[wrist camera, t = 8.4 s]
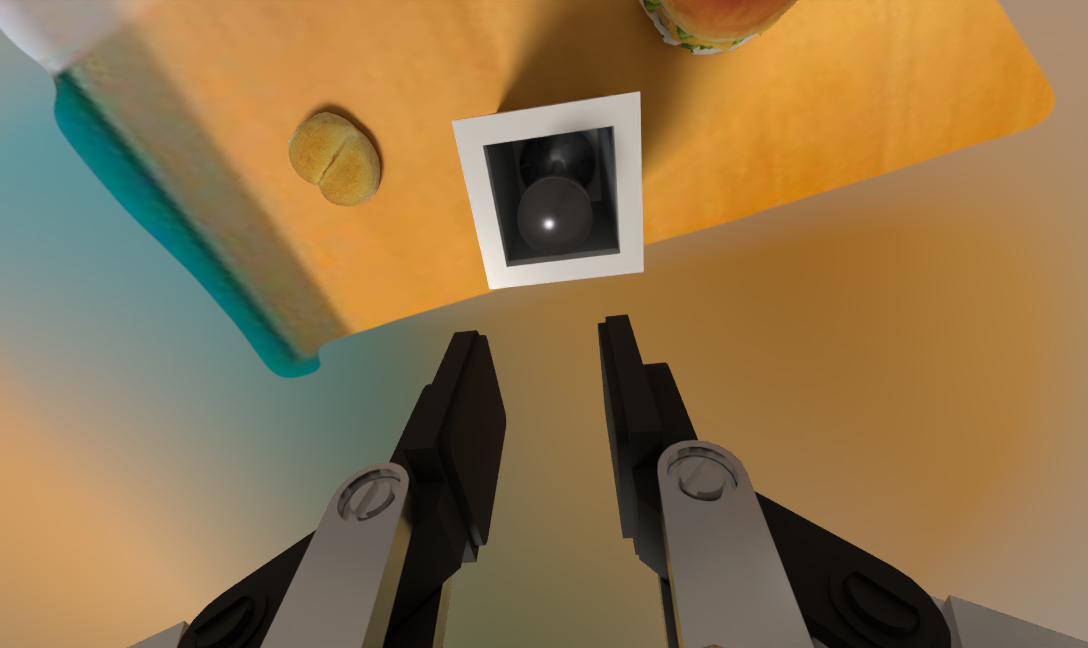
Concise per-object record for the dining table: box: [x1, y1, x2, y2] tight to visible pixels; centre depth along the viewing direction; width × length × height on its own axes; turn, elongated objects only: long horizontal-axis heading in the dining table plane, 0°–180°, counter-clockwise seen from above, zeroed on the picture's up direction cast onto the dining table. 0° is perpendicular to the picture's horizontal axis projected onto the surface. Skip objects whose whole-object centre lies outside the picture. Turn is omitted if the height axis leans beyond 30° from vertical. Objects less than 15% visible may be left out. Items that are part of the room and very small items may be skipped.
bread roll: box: [288, 112, 380, 206], centre depth 42 cm, size 8×9×4 cm
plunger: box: [517, 131, 595, 256], centre depth 32 cm, size 8×8×21 cm
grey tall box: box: [452, 91, 644, 289], centre depth 35 cm, size 11×11×18 cm
